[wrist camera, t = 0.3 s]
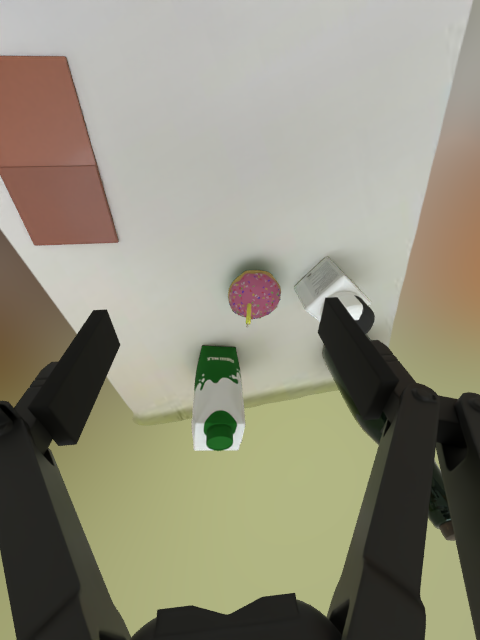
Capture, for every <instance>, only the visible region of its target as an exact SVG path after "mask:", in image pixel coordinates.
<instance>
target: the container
mask: <svg viewBox="0 0 480 640" xmlns="http://www.w3.org/2000/svg"><path fill="white" fill-rule="evenodd" d="M294 289H295V291H296V293H297V295H298V297H299V299H300V301H301V303H302V305H303V306H304V308H305V310H306V311H307V312H308V313H309V314H311V315H312V316H313V317H314V318H316V319H317V320H318V321H319V322H320V320H321V315H322V311H323V306H324V301H325V298H328V297H338V299H339V300H340V301H341V303H342V304H343V305H344V307H345V308H346V309H347V311H348V312H349V313H350V315H351V316H352V317H353V319H354V320H355V321H356V323H357V324H358V325H359V327H360V328H361V329H362V331H363V332H364V333H365V334H367V333H368V332H369V330H370V329H371V327H372V326H373V323H374V317H375V316H374V313H373V311H372V310H371V308H370V307H369V305H371V301H370V300H369V299H368V298H367V297H366V295H365V294H364V293H363V292H362V291H361V290H360V289H359V288H358V287H357V286H356V285H355V284H354V283H353V282H352V281H351V279H350V278H349V277H348V276H347V275H346V274H345V273H344V272H343V271H342V270H341V269H340V268H339V267H338V266H337V265H336V264H335V263H334V262H333V261H332V260H331V259H330V258H329V257H326V258H324V259H323V260H322V261H321V262H320V263H319V264H318V265H317V266H316V267H315V268H314V269H313V270H312V271H310V272H309V273H308V274H307V275H306V276H305V277H304V278H303V279H302V280H301V281H300V282H299V283H298V284H297V285H295V287H294Z"/></svg>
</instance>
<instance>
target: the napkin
mask: <svg viewBox="0 0 480 640" xmlns="http://www.w3.org/2000/svg"><path fill="white" fill-rule="evenodd" d="M0 175H1V177H2V179H3V181H4V184H5V186H6V188H7V190H8V192H9V194H10V196H11V198H12V200H13V202H14V204H15V206H16V208H17V210H18V212H19V215H20V217H21V219H22V221H23V223H24V225H25V227H26V229H27V231H28V233H29V235H30V237H31V239H32V241H33V243H34V245H62V244H91V243H118V237H117V234H116V230H115V227H114V223H113V220H112V216H111V213H110V209H109V206H108V202H107V199H106V195H105V192H104V188H103V185H102V181H101V178H100V174H99V171H98V167H97V164H96V160H95V157H94V153H93V150H92V146H91V143H90V139H89V136H88V132H87V129H86V125H85V122H84V118H83V115H82V111H81V108H80V104H79V101H78V97H77V94H76V90H75V87H74V83H73V80H72V76H71V73H70V69H69V66H68V62H67V59H66V57H65V56H0Z"/></svg>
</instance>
